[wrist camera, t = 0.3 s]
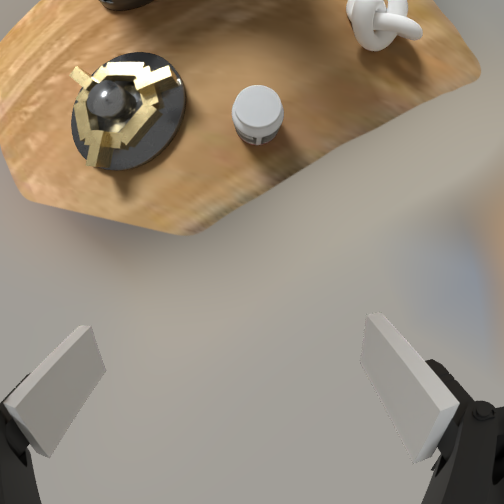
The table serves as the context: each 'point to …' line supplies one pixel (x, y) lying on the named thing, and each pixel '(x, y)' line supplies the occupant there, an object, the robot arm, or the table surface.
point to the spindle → (111, 102)
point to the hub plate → (159, 131)
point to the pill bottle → (257, 114)
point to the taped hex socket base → (141, 122)
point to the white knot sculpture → (381, 22)
